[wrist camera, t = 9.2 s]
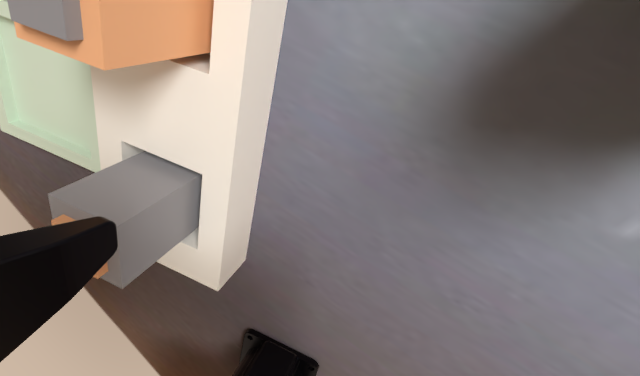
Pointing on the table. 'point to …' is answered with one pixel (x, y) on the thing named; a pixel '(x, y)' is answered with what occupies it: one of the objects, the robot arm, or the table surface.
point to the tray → (46, 98)
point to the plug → (116, 29)
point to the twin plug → (135, 210)
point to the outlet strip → (202, 127)
